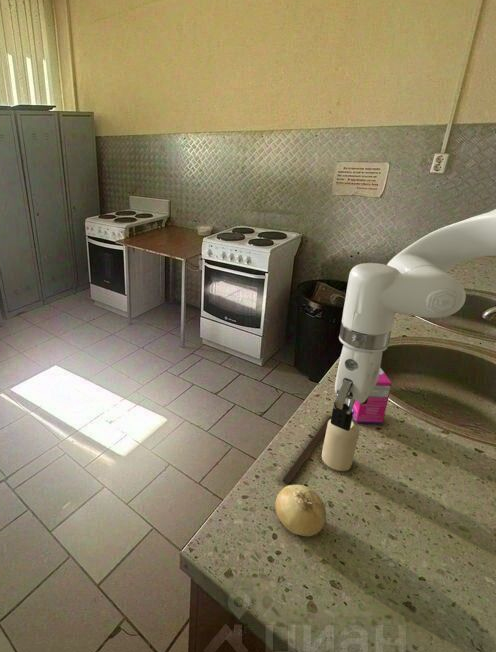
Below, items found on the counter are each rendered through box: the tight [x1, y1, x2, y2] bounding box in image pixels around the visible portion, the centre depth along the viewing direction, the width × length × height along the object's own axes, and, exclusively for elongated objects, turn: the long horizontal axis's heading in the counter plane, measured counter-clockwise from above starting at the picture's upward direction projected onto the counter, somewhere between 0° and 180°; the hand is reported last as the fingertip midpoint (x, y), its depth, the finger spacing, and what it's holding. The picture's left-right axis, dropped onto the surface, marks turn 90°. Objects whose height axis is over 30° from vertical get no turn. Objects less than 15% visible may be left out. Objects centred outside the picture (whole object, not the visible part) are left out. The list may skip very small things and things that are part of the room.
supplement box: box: [347, 367, 393, 425], centre depth 89 cm, size 6×6×12 cm
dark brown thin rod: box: [282, 415, 332, 486], centre depth 83 cm, size 1×24×1 cm, turn 136°
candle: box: [321, 419, 360, 472], centre depth 78 cm, size 6×6×10 cm
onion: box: [274, 484, 327, 537], centre depth 66 cm, size 8×8×7 cm
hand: (349, 413), depth 75 cm, fingers open, 9 cm apart
